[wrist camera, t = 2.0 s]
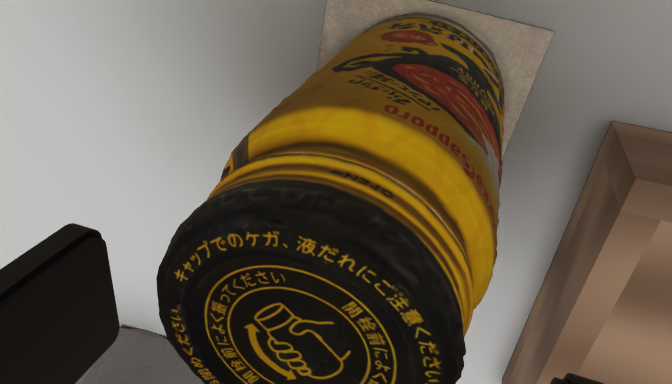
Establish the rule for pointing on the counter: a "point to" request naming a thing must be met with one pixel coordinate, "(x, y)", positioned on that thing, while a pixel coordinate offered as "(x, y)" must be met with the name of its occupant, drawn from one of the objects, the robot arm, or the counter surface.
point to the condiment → (358, 207)
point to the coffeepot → (139, 362)
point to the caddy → (609, 274)
